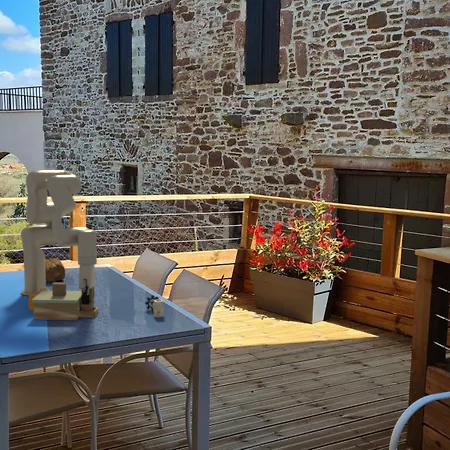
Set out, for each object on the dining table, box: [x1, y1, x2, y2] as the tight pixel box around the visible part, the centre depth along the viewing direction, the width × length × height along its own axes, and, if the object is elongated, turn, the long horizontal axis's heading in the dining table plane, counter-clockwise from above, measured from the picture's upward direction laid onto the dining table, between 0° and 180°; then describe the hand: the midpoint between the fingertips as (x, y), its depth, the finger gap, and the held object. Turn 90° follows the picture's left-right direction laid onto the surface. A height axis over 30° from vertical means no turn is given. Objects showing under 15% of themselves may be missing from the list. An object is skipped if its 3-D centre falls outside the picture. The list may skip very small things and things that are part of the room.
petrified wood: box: [45, 257, 66, 283], centre depth 312 cm, size 19×13×10 cm
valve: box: [144, 294, 164, 318], centre depth 253 cm, size 7×7×12 cm
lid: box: [32, 282, 82, 303], centre depth 248 cm, size 15×18×6 cm
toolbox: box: [33, 300, 99, 321], centre depth 249 cm, size 14×24×7 cm, turn 91°
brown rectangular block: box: [82, 285, 95, 311], centre depth 249 cm, size 4×4×12 cm
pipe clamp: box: [28, 289, 48, 311], centre depth 261 cm, size 12×4×6 cm, turn 170°
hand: (88, 301), depth 249 cm, fingers open, 9 cm apart
